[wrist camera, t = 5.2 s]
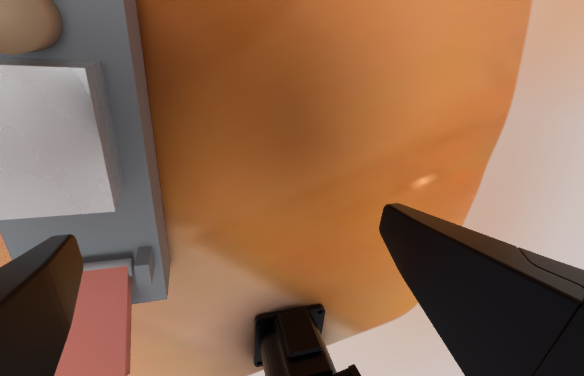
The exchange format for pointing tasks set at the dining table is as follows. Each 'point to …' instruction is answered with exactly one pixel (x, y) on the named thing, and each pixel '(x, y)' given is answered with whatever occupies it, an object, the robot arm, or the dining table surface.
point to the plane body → (127, 126)
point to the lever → (100, 322)
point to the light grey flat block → (56, 139)
